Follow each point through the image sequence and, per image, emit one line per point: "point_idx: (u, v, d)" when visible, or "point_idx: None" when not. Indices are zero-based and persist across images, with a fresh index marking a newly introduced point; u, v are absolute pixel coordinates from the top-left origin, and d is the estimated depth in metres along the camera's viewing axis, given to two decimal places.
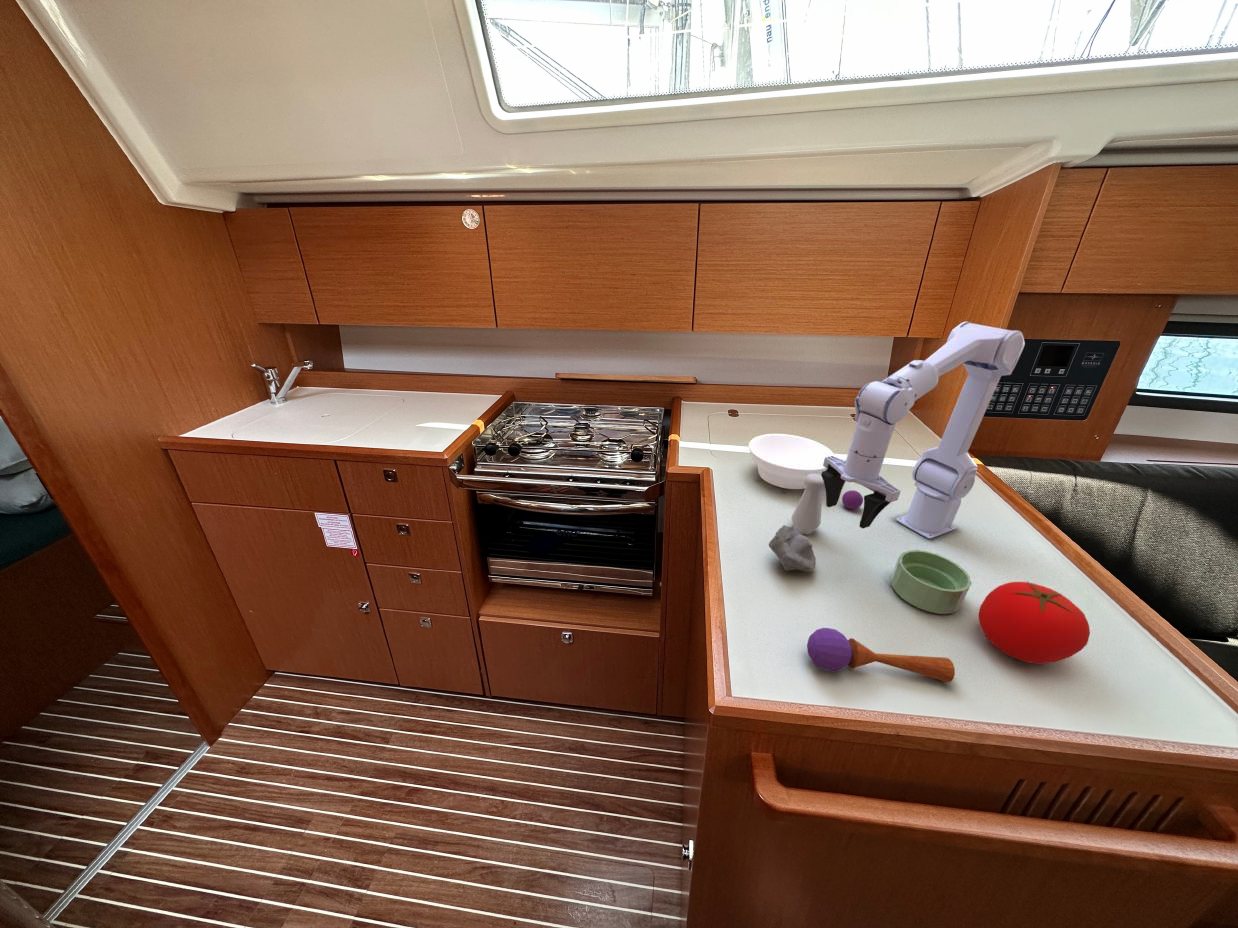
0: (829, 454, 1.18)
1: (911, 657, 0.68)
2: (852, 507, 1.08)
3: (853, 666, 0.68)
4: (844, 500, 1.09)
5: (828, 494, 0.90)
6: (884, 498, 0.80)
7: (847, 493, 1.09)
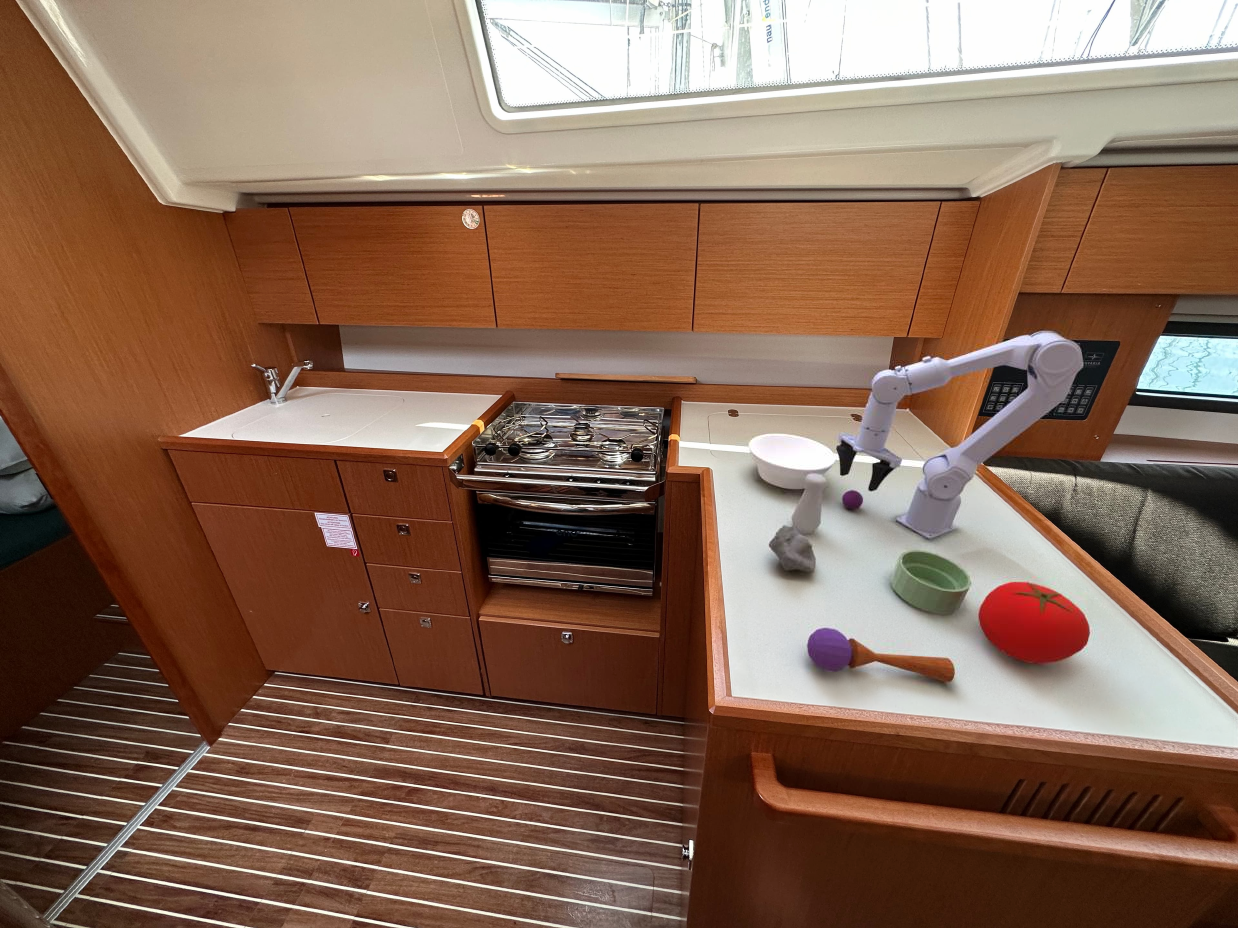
0: (829, 454, 1.18)
1: (911, 657, 0.68)
2: (852, 507, 1.08)
3: (853, 666, 0.68)
4: (844, 500, 1.09)
5: (842, 464, 1.08)
6: (889, 465, 0.98)
7: (847, 493, 1.09)
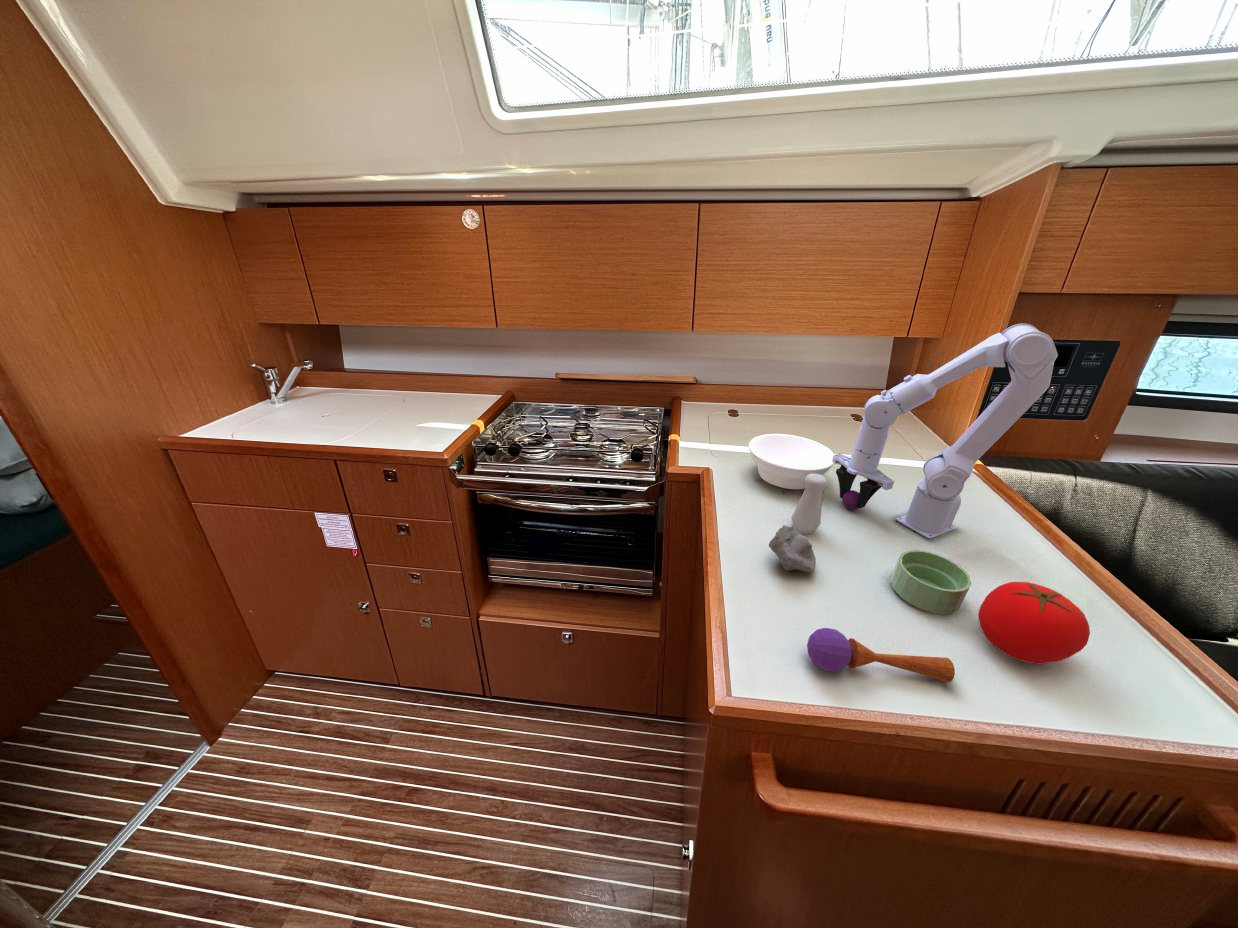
0: (829, 454, 1.18)
1: (911, 657, 0.68)
2: (852, 507, 1.08)
3: (853, 666, 0.68)
4: (844, 500, 1.09)
5: (841, 487, 1.10)
6: (875, 484, 1.02)
7: (847, 493, 1.09)
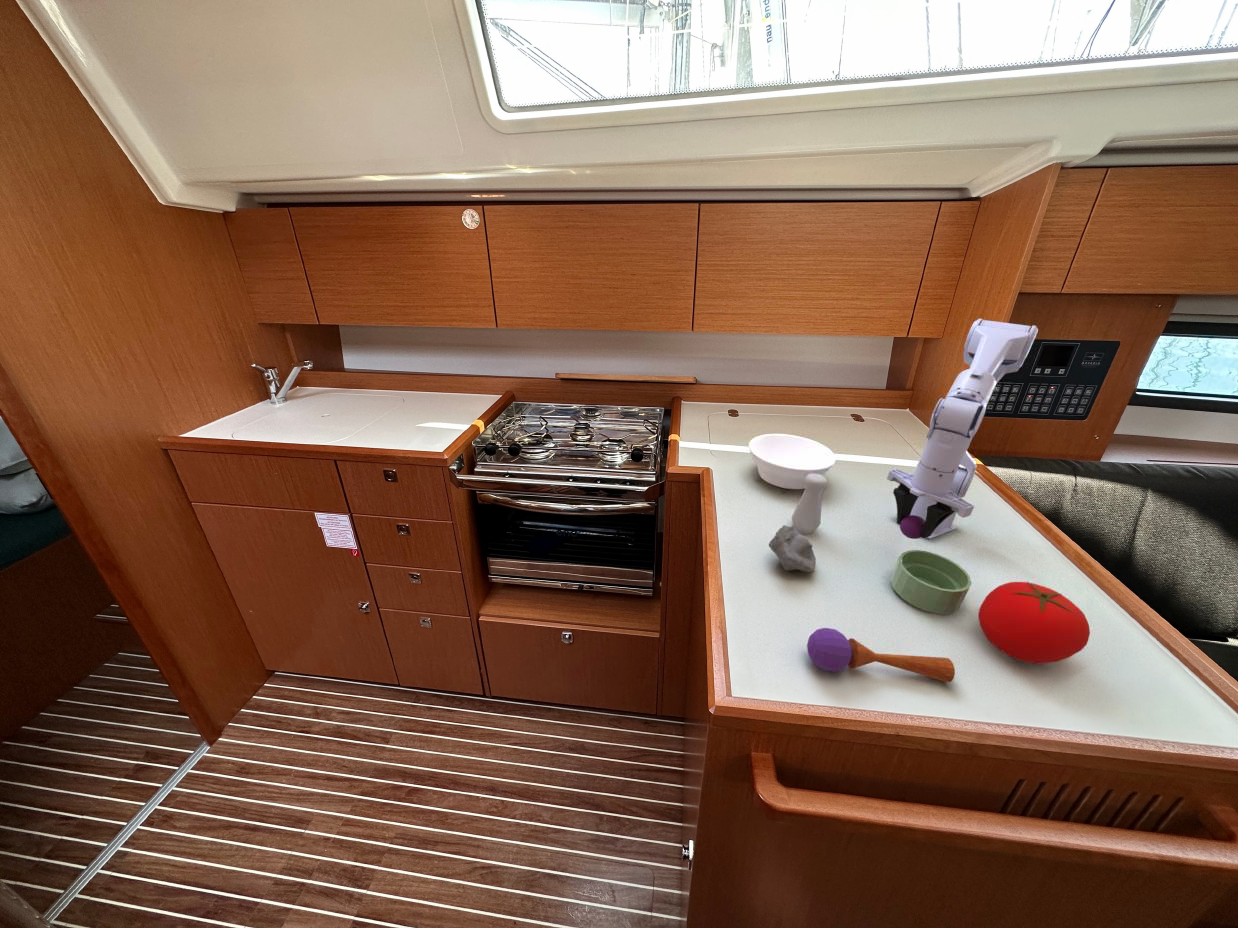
0: (829, 454, 1.18)
1: (911, 657, 0.68)
2: (914, 536, 0.87)
3: (853, 666, 0.68)
4: (903, 528, 0.87)
5: (900, 511, 0.88)
6: (948, 509, 0.81)
7: (907, 519, 0.87)
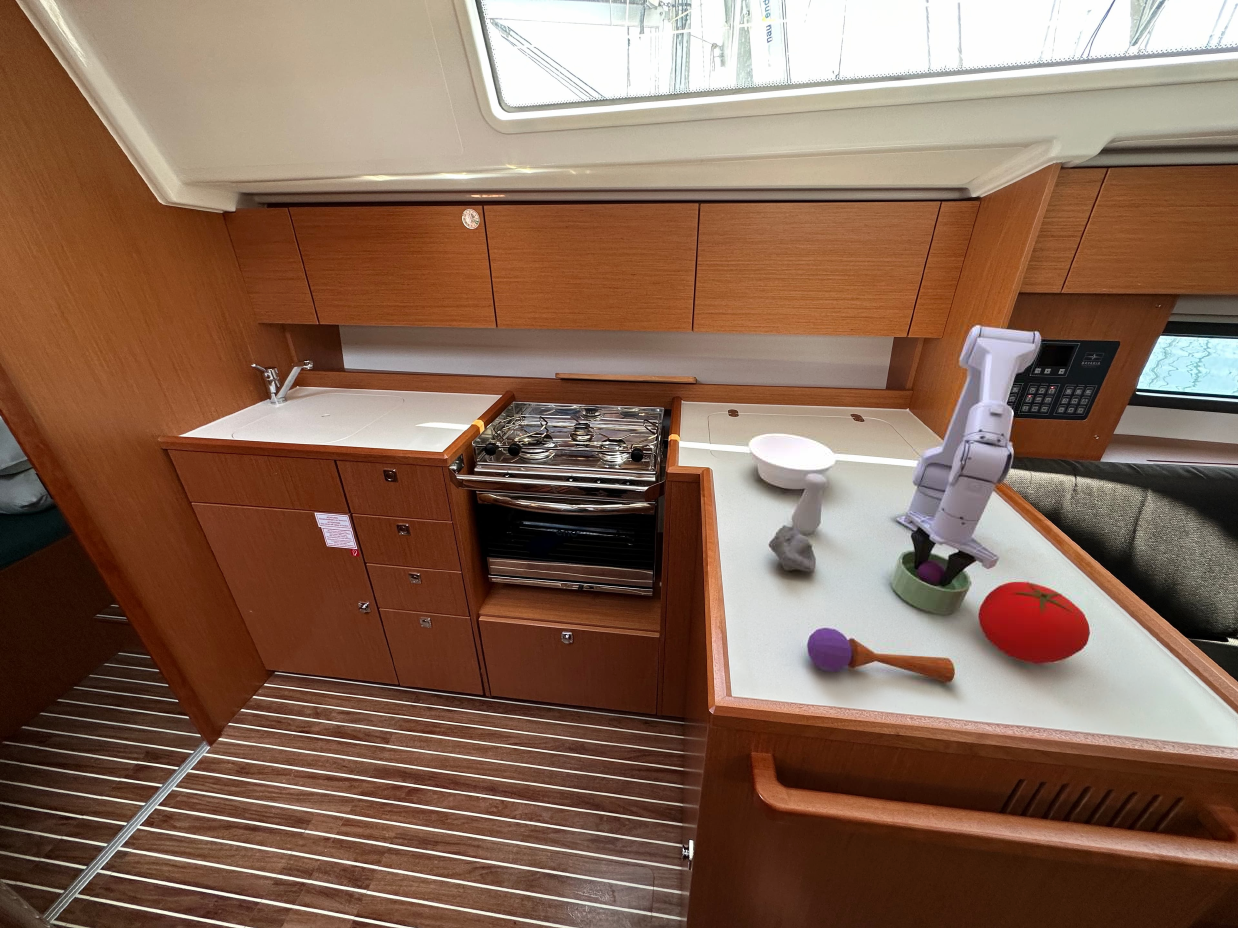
0: (829, 454, 1.18)
1: (911, 657, 0.68)
2: (933, 584, 0.82)
3: (853, 666, 0.68)
4: (922, 574, 0.82)
5: (918, 557, 0.83)
6: (971, 558, 0.76)
7: (926, 565, 0.82)
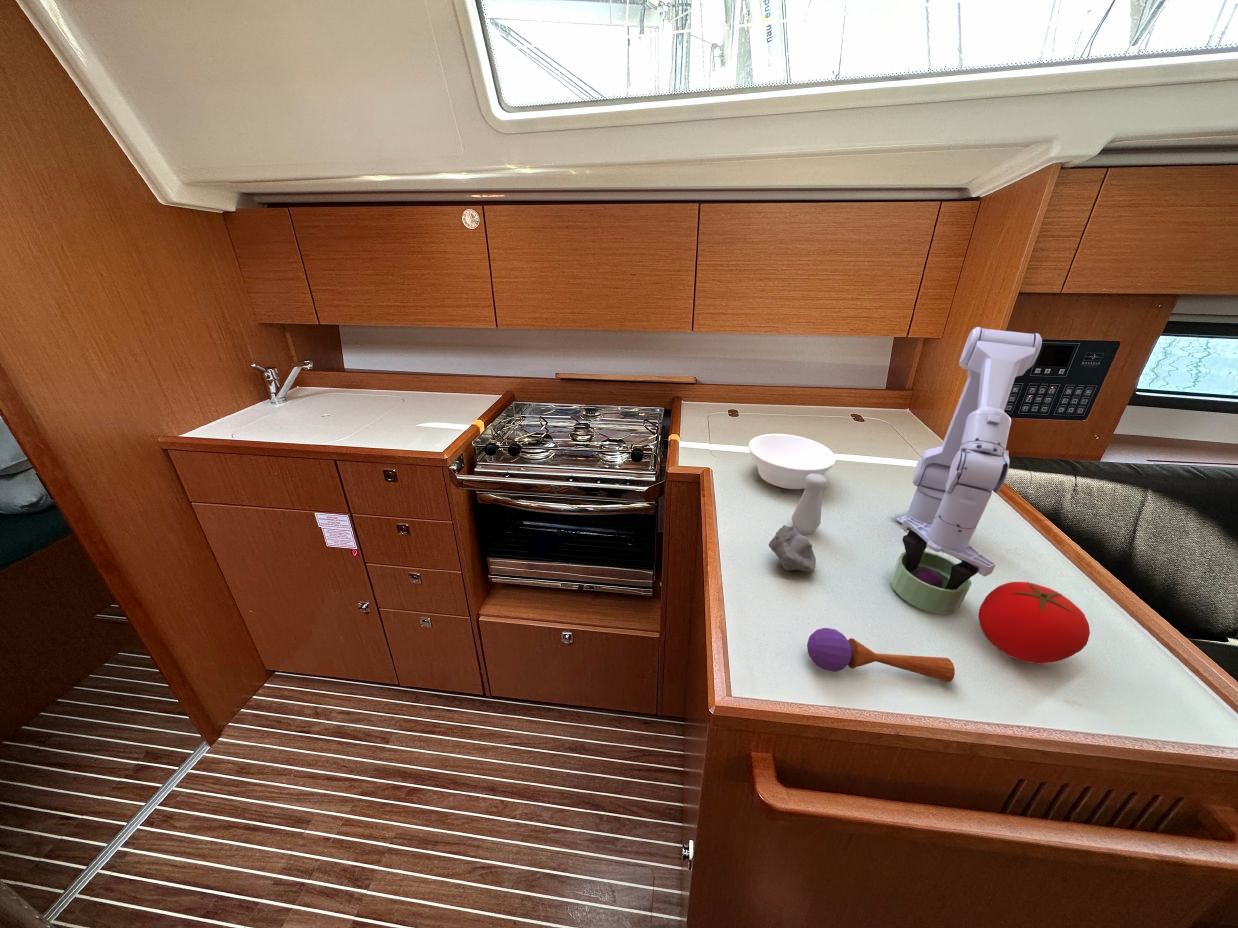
0: (829, 454, 1.18)
1: (911, 657, 0.68)
2: None
3: (853, 666, 0.68)
4: None
5: (909, 559, 0.85)
6: (974, 569, 0.76)
7: (920, 573, 0.84)
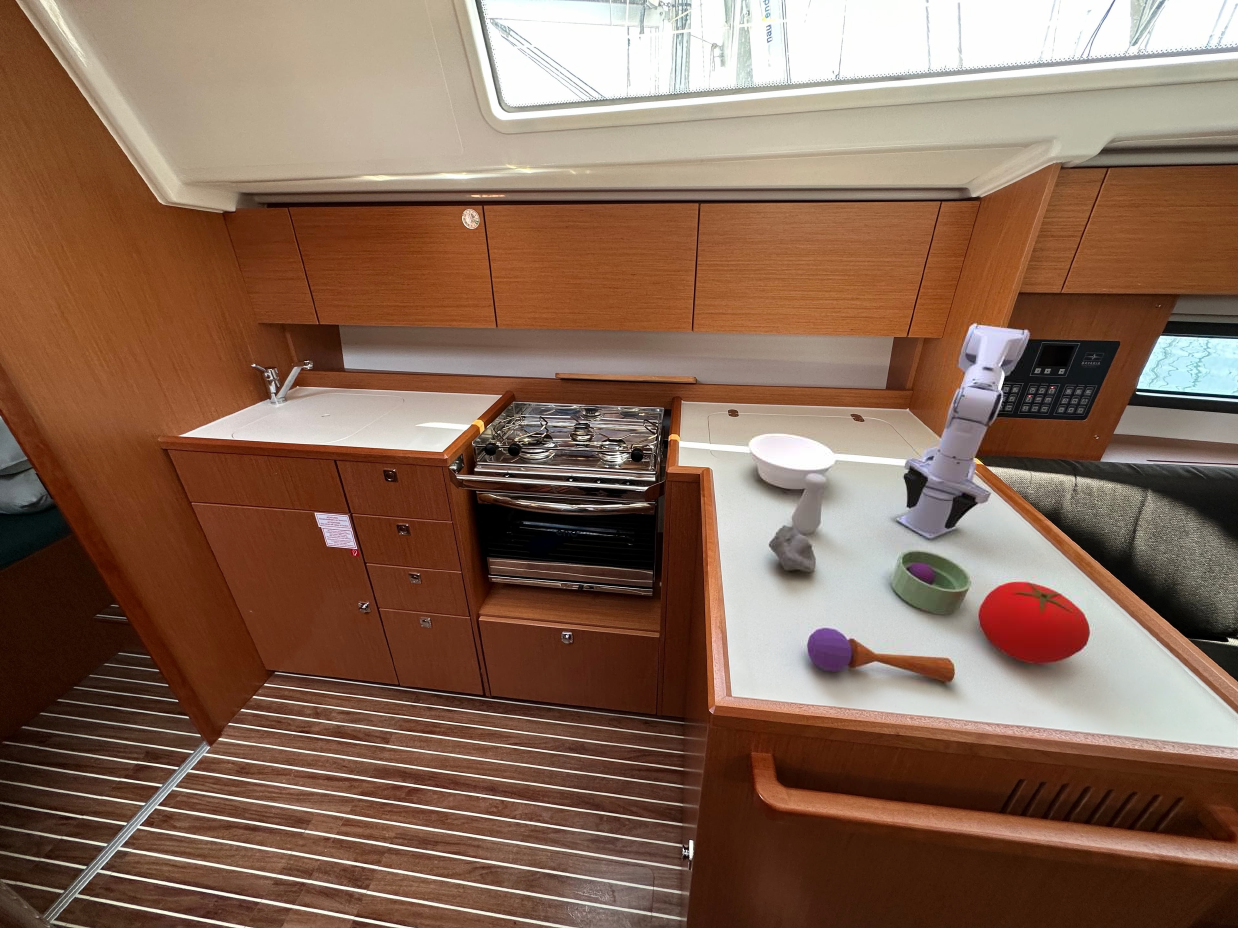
0: (829, 454, 1.18)
1: (911, 657, 0.68)
2: (925, 579, 0.83)
3: (853, 666, 0.68)
4: None
5: (910, 495, 0.92)
6: (974, 499, 0.82)
7: (909, 567, 0.86)
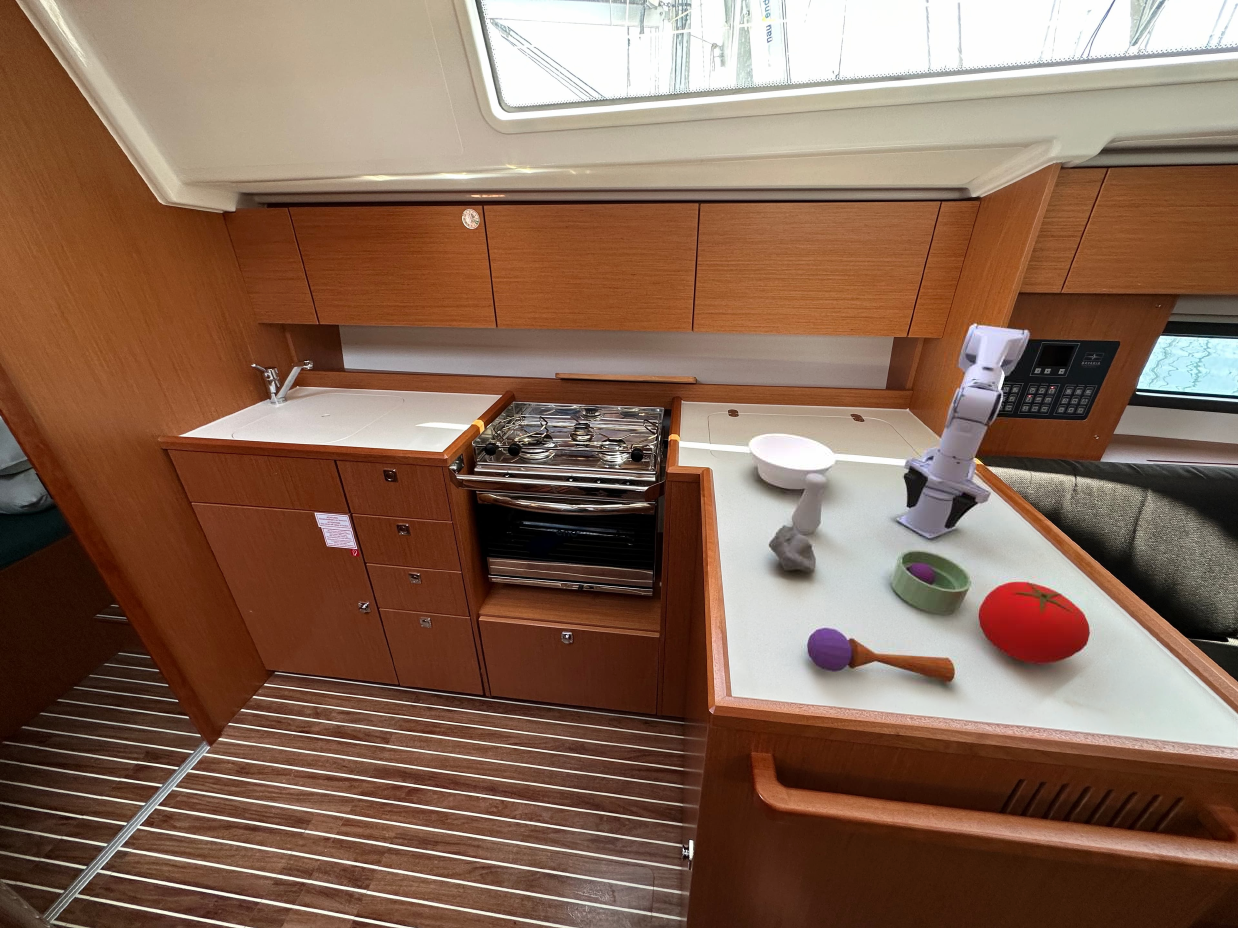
0: (829, 454, 1.18)
1: (911, 657, 0.68)
2: (925, 579, 0.83)
3: (853, 666, 0.68)
4: None
5: (910, 495, 0.92)
6: (974, 499, 0.82)
7: (909, 567, 0.86)
